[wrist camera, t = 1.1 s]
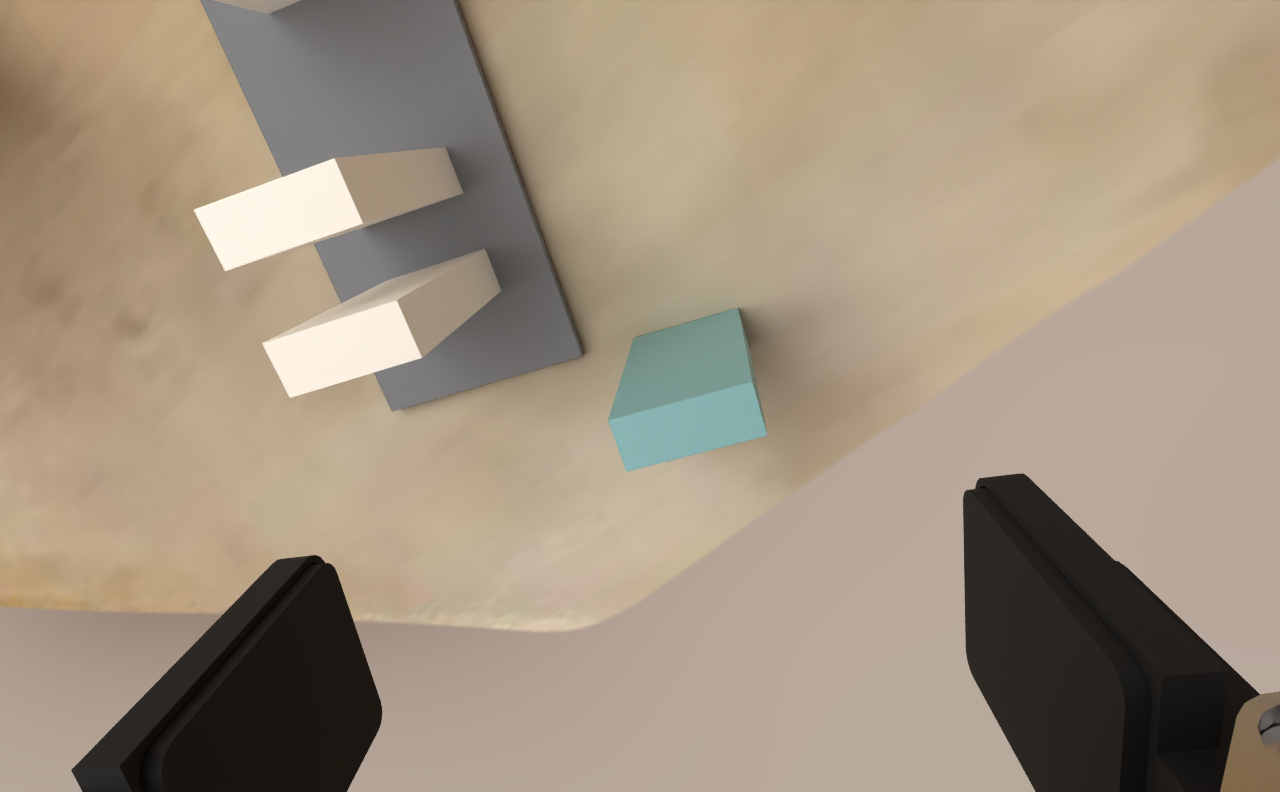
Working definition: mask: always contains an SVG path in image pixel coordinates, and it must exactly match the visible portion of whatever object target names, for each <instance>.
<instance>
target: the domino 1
mask: <svg viewBox="0 0 1280 792" xmlns="http://www.w3.org/2000/svg"><path fill="white" fill-rule="evenodd" d="M214 1H218V2H222V3H226V4H230V5H234V6H238V7H242V8H246V9H250V10H254V11H258V12H262V13H266V14H270V13H272V12H274V11H277V10H279V9H282V8H284V7H286V6H289V5H291V4H294V3H296V2H298V1H301V0H214Z"/></svg>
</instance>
